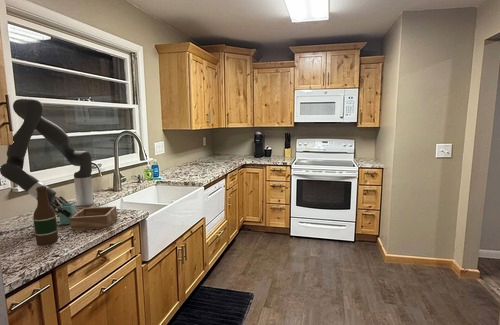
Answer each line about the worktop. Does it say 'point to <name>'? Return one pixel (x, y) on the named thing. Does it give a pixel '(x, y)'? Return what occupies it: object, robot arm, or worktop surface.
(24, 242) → the worktop surface
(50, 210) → the beer bottle
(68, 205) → the teal rectangular block
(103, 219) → the walnut crate
